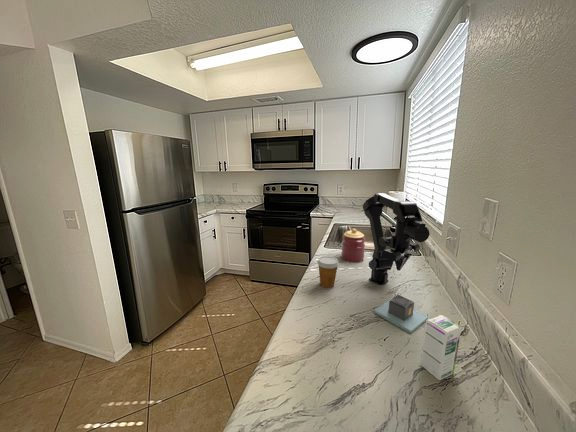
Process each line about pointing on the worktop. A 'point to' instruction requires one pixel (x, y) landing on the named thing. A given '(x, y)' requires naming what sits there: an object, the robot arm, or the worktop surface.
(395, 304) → the grey block
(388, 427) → the worktop surface
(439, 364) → the syrup box
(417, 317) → the plate
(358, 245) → the canister
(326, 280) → the disposable coffee cup
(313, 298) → the worktop surface
